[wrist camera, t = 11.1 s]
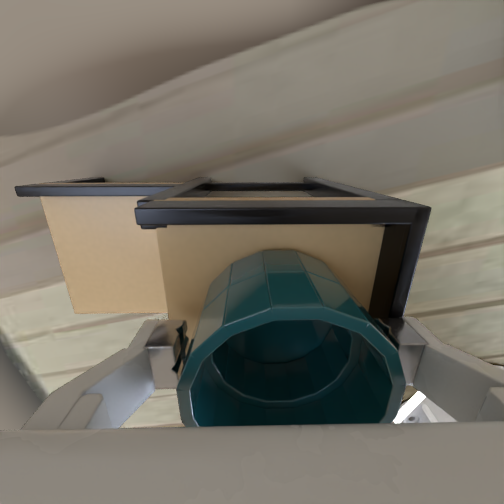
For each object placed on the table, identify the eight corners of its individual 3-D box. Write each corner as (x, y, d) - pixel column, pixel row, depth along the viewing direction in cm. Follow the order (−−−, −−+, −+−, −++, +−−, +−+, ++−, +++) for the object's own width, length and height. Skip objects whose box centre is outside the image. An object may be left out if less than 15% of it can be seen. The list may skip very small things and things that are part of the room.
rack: (307, 277, 25) (378, 415, 12) (113, 279, 25) (-47, 423, 11) (316, 177, 22) (432, 207, 8) (90, 177, 22) (-181, 209, 8)
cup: (336, 365, 13) (382, 470, 8) (208, 367, 13) (189, 475, 8) (354, 244, 10) (430, 305, 6) (198, 246, 10) (162, 309, 6)
